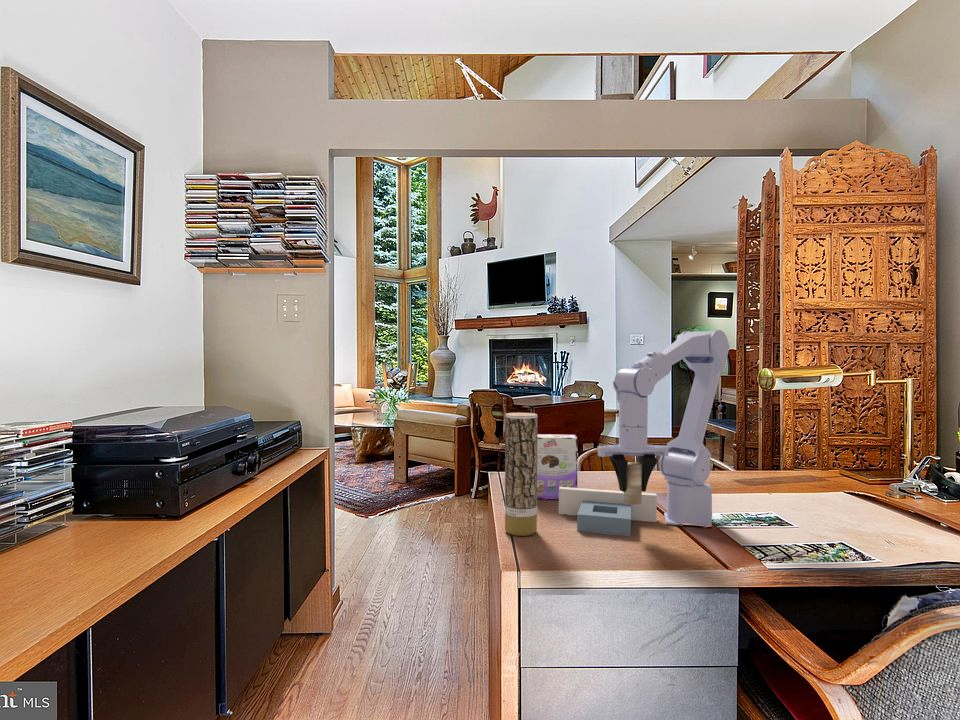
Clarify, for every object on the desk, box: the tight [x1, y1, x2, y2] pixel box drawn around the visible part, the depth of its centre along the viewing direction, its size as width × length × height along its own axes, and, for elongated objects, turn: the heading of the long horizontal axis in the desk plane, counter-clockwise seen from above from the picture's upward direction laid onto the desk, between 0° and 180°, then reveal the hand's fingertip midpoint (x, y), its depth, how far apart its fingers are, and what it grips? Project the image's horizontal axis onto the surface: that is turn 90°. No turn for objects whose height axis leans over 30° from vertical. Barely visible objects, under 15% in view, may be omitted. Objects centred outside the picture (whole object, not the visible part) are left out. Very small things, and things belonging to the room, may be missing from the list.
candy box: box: [537, 433, 578, 500], centre depth 143 cm, size 14×6×16 cm, turn 84°
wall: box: [558, 487, 658, 523], centre depth 126 cm, size 22×2×6 cm, turn 75°
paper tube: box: [504, 412, 539, 537], centre depth 115 cm, size 7×7×25 cm
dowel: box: [624, 461, 643, 505], centre depth 113 cm, size 4×4×8 cm
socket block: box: [576, 501, 632, 537], centre depth 120 cm, size 11×11×4 cm
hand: (632, 490), depth 113 cm, fingers closed on dowel, 4 cm apart
